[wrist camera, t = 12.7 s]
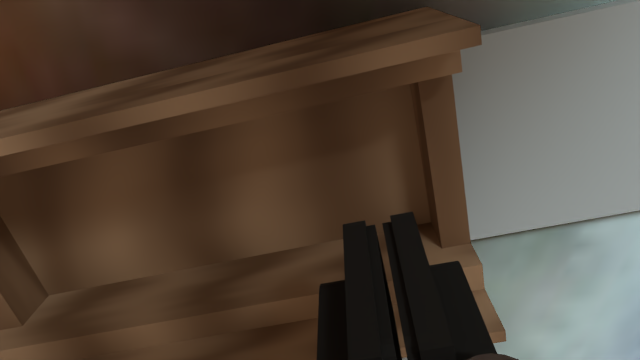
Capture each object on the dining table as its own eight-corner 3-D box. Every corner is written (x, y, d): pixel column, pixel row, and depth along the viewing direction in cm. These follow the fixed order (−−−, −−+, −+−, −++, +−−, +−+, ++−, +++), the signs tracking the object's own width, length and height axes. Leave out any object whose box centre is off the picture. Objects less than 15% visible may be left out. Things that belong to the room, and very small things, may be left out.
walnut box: (427, 6, 18) (480, 25, 12) (456, 238, 22) (506, 341, 16) (-65, 126, 20) (-238, 195, 14) (51, 313, 25) (-41, 428, 18)
